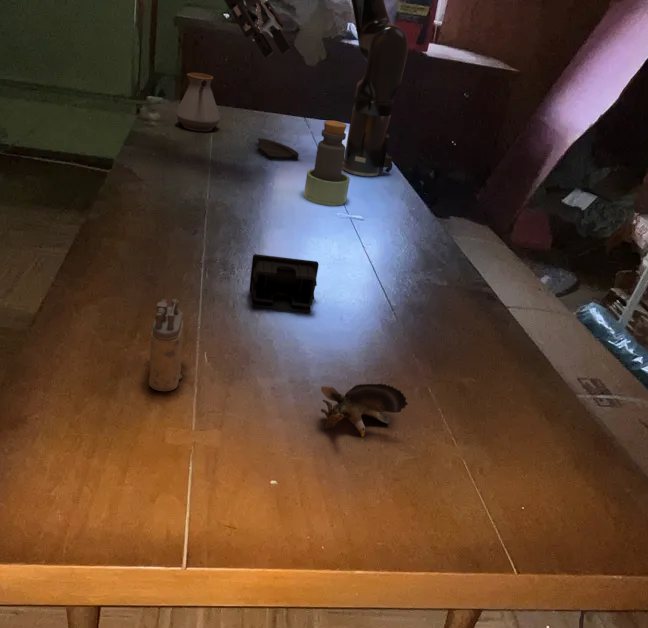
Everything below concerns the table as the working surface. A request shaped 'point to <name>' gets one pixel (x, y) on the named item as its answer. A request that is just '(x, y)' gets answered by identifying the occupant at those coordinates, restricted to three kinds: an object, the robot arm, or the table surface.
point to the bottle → (330, 152)
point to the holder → (326, 190)
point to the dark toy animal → (363, 403)
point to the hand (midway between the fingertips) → (278, 52)
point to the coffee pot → (198, 104)
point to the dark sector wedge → (276, 150)
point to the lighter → (166, 347)
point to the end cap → (283, 283)
